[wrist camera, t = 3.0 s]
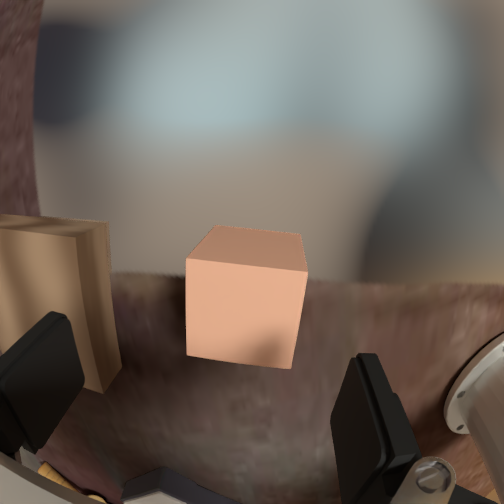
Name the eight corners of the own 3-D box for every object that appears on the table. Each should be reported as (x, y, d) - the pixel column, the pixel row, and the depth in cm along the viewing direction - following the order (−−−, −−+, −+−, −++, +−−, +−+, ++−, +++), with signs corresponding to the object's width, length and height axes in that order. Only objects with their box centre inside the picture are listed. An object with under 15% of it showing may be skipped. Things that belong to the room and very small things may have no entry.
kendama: (48, 464, 36) (126, 522, 36) (30, 481, 30) (114, 544, 30) (55, 448, 35) (142, 512, 35) (36, 467, 29) (129, 537, 29)
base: (109, 221, 19) (75, 237, 16) (124, 363, 23) (103, 394, 19) (3, 213, 20) (-30, 224, 16) (25, 332, 24) (1, 352, 20)
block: (300, 234, 18) (308, 272, 12) (289, 309, 20) (290, 369, 14) (215, 225, 18) (186, 258, 13) (212, 300, 20) (186, 355, 14)
